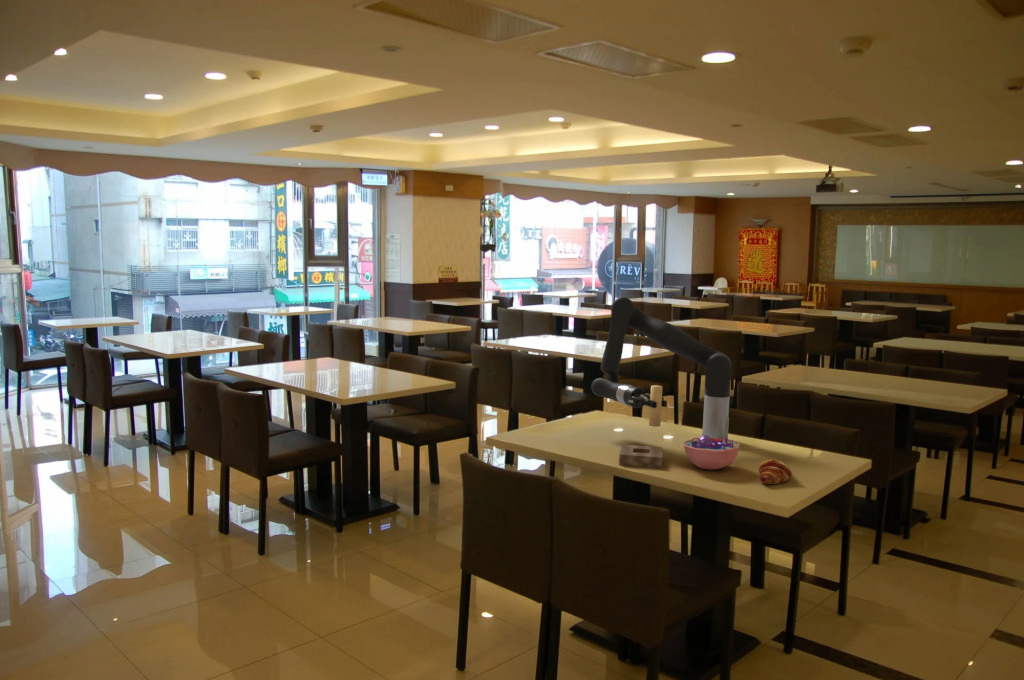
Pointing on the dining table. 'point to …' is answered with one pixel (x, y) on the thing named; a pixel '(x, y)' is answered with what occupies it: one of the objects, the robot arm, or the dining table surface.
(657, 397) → the peg
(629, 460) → the hole block
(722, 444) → the cell model
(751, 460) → the dining table surface
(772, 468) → the croissant
